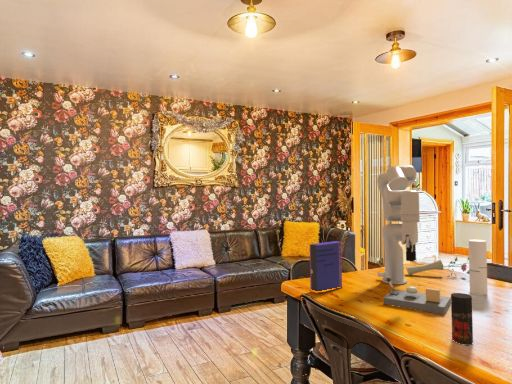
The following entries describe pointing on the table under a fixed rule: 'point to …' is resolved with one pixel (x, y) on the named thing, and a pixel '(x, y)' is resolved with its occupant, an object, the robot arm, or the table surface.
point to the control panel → (417, 301)
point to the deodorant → (461, 318)
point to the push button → (411, 289)
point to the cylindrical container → (478, 267)
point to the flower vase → (433, 267)
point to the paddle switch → (433, 295)
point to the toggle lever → (390, 283)
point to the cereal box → (325, 265)
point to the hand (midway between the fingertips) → (411, 259)
